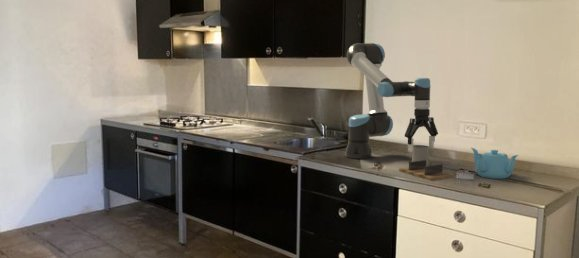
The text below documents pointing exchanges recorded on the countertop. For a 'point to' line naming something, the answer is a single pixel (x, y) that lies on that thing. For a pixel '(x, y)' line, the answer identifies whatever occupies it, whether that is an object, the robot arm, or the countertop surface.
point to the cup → (420, 153)
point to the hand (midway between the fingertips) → (421, 149)
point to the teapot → (493, 164)
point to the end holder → (426, 170)
